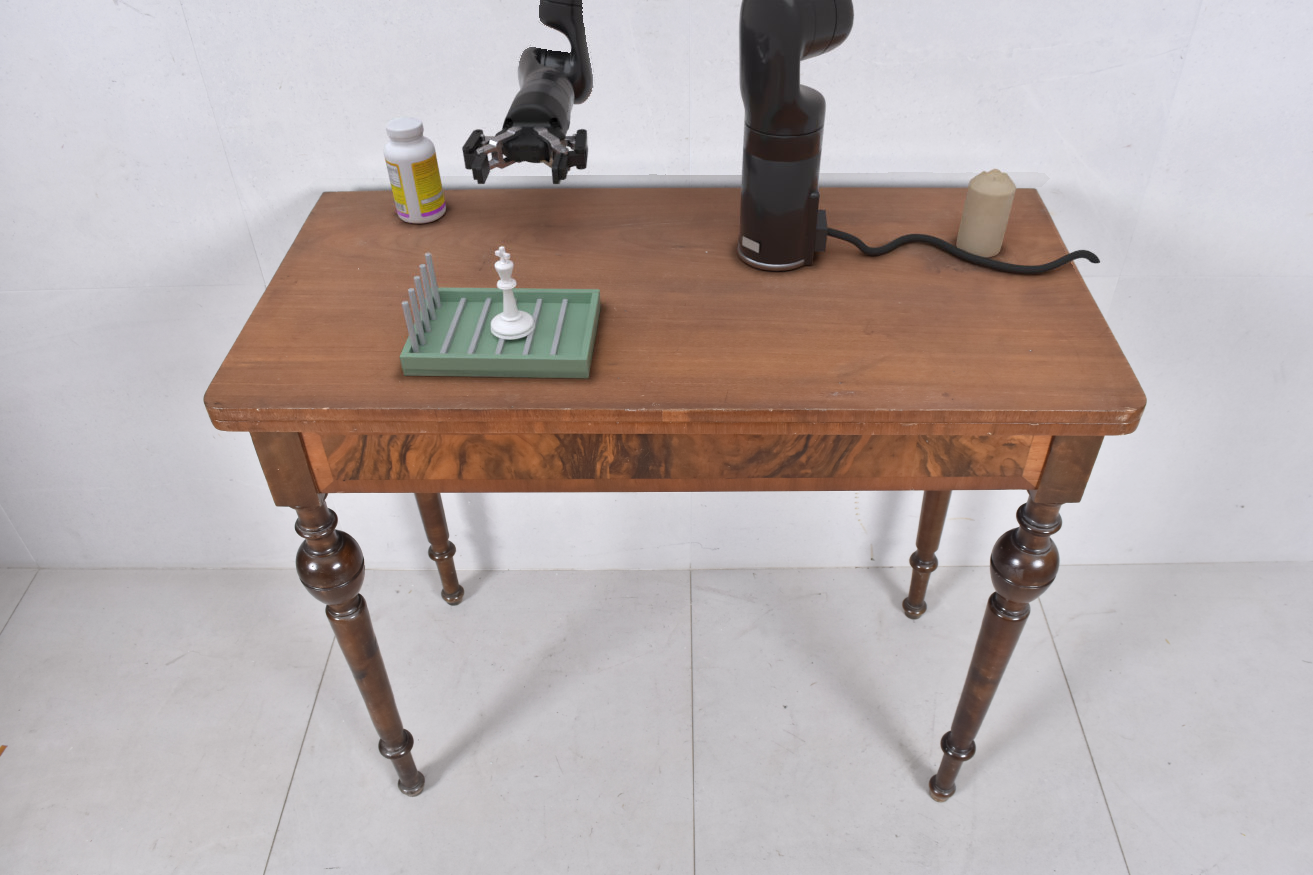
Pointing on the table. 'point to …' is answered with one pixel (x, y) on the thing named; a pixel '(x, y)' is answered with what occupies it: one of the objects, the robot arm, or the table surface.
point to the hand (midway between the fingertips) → (517, 176)
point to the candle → (986, 213)
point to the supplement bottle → (413, 171)
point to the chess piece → (509, 304)
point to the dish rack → (465, 346)
